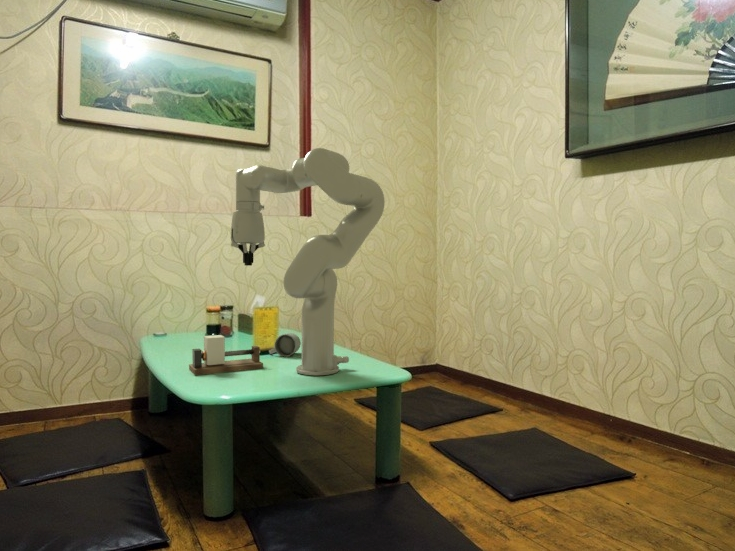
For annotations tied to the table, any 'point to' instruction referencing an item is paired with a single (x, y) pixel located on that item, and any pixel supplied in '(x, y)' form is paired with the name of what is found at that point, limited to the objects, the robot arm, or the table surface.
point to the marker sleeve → (214, 349)
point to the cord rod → (201, 355)
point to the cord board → (230, 365)
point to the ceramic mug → (286, 345)
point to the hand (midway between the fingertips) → (248, 265)
